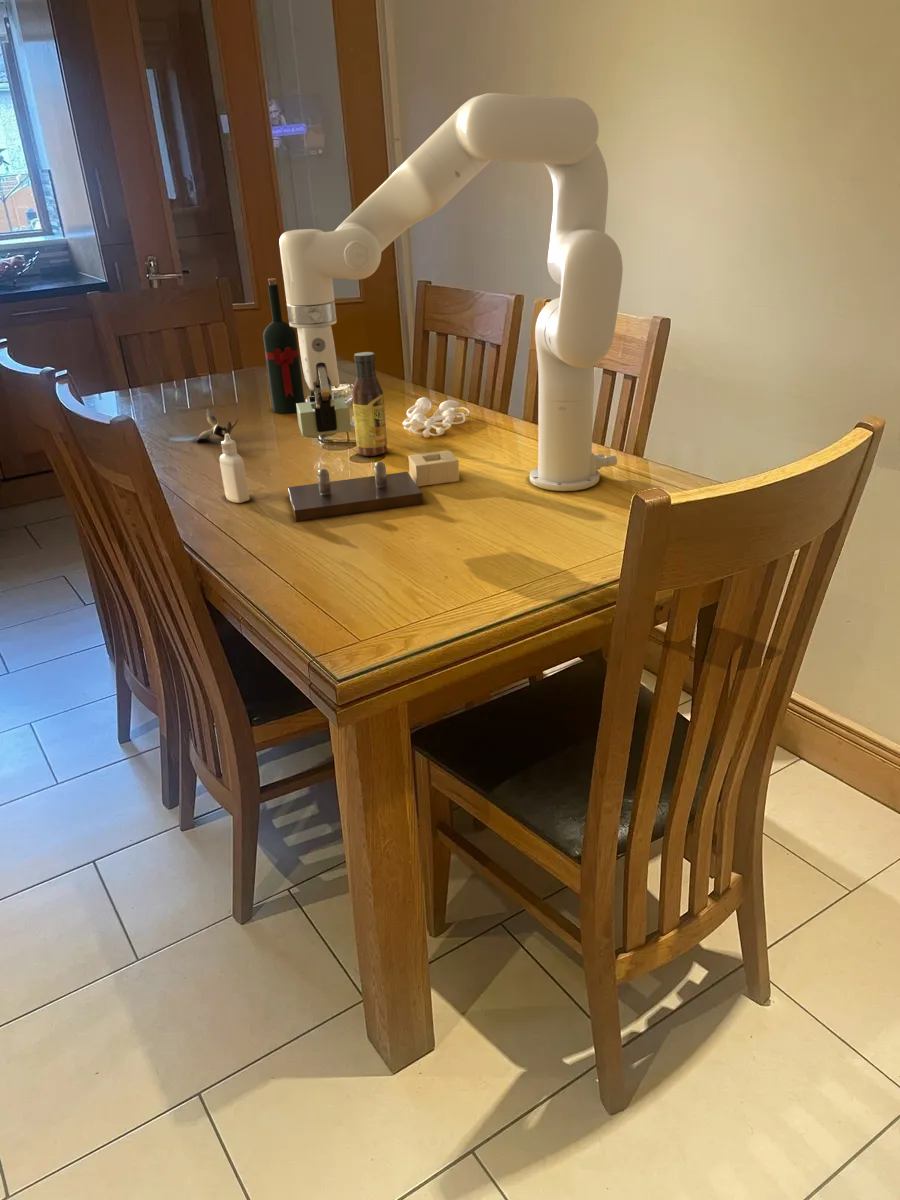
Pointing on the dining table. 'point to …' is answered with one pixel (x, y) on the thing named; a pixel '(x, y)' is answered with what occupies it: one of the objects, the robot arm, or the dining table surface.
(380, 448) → the sauce bottle
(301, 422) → the green block with hole
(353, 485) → the peg board base
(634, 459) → the dining table surface
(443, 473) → the beige block with hole
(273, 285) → the wine bottle
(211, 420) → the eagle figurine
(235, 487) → the eye dropper bottle
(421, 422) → the tangled rod sculpture
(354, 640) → the dining table surface
